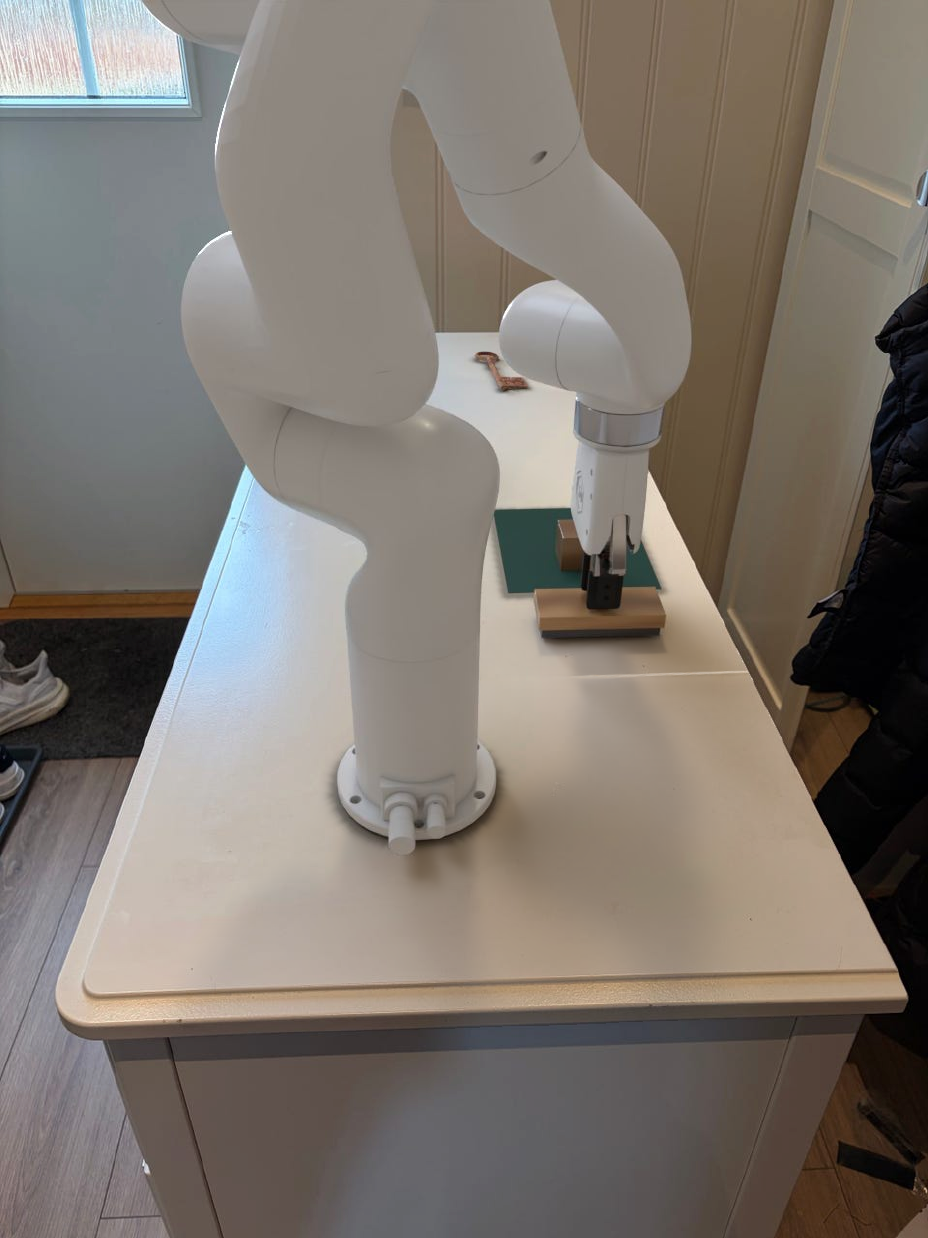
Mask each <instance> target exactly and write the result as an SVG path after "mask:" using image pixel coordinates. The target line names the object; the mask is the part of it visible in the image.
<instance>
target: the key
mask: <svg viewBox="0 0 928 1238" xmlns="http://www.w3.org/2000/svg"><path fill="white" fill-rule="evenodd" d="M499 356H500V355H498V354H497V353H495V352H492V351H478V352H476V353H475V354H474V357H475V358H476V359H477V360H480V361H483V362H486V364H487V365H488V368H489V369H490V371H491V373H492V375H493V377H494V379H495V381H496V383H497V384H498V387H499V389H500V390H501V391H505V390H506V389H507V388H528V385H527V383H526V381H525V379H524V376H500V373H499V371H498V369H497V367H496V363H495V362H494V361H497V360H499V358H500V357H499Z"/></svg>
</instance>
